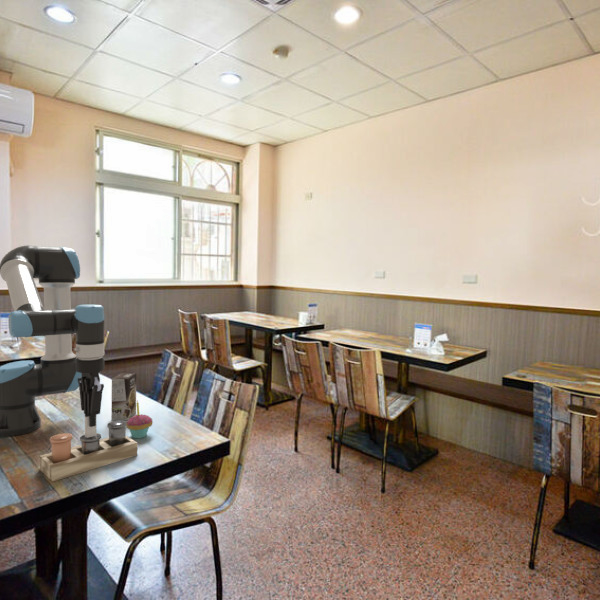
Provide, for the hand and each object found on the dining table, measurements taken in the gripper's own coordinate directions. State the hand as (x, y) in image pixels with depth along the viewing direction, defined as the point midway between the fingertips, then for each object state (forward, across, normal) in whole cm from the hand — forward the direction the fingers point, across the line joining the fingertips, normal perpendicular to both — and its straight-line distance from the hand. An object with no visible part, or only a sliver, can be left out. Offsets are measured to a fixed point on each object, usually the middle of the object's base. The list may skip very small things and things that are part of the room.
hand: (90, 435), depth 127 cm
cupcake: (+8, -9, +20) cm, 23 cm away
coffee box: (+8, -31, +25) cm, 41 cm away
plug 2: (+5, 0, +8) cm, 9 cm away
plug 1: (+7, 0, 0) cm, 7 cm away
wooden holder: (+8, 0, 0) cm, 8 cm away
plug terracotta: (+5, 0, -8) cm, 9 cm away
